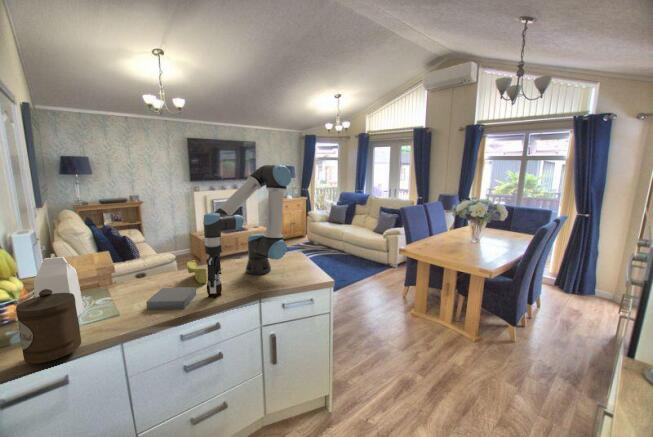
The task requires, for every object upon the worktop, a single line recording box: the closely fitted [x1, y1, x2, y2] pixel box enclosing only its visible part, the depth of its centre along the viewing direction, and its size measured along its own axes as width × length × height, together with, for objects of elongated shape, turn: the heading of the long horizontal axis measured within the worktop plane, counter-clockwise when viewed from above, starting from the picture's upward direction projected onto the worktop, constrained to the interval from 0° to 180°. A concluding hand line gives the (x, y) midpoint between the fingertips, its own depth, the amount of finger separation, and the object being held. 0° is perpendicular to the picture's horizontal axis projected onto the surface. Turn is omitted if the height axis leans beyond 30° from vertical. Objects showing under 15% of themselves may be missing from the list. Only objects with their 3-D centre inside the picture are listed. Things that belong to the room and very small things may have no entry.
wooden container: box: [15, 289, 82, 364], centre depth 103 cm, size 15×15×22 cm
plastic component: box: [186, 259, 208, 285], centre depth 171 cm, size 20×7×10 cm, turn 38°
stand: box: [146, 286, 197, 311], centre depth 143 cm, size 16×16×4 cm
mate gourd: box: [206, 267, 224, 299], centre depth 150 cm, size 8×8×15 cm
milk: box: [33, 256, 85, 317], centre depth 125 cm, size 12×12×26 cm
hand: (215, 290), depth 150 cm, fingers closed on mate gourd, 7 cm apart
